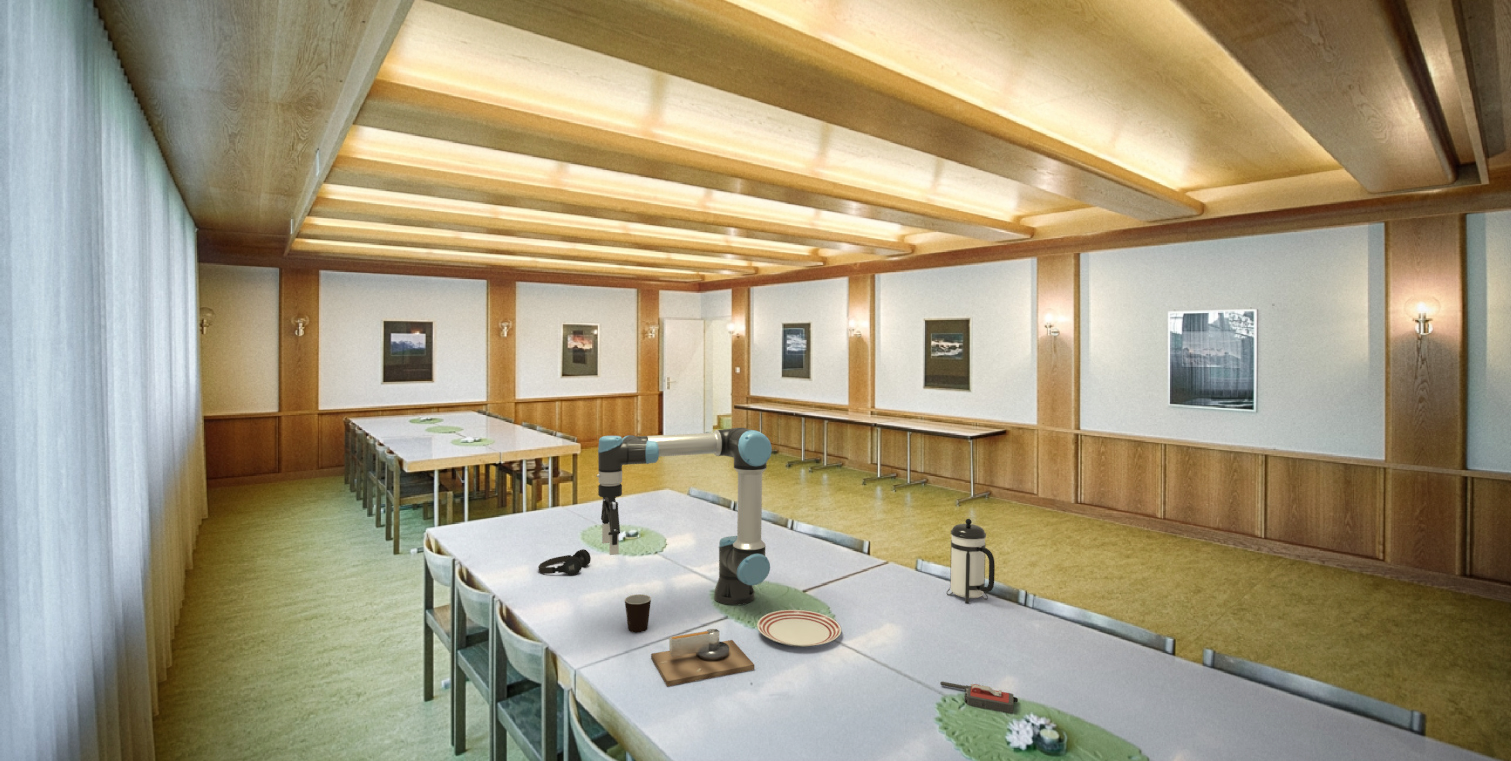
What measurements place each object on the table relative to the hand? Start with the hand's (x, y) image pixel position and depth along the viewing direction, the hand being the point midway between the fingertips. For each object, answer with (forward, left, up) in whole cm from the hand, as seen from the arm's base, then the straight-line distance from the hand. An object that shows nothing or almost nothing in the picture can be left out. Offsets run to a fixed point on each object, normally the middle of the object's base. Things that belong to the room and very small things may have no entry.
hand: (610, 548), depth 215 cm
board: (-21, +32, -28) cm, 47 cm away
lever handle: (-21, +30, -26) cm, 45 cm away
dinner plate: (-57, +24, -28) cm, 68 cm away
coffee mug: (-10, -1, -28) cm, 30 cm away
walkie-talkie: (-83, +79, -28) cm, 118 cm away
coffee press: (-132, +19, -28) cm, 136 cm away
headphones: (+7, -71, -28) cm, 77 cm away
